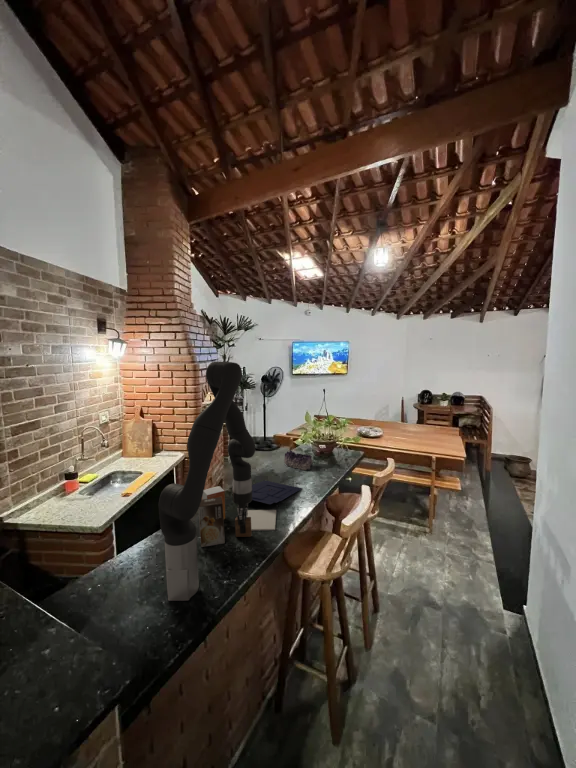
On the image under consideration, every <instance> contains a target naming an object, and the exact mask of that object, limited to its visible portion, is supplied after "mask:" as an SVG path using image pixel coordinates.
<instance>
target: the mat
mask: <svg viewBox="0 0 576 768" xmlns="http://www.w3.org/2000/svg"><path fill="white" fill-rule="evenodd" d="M247 517H251V530H252V531H276V519H277V509H248V516H247Z"/></svg>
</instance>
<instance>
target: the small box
mask: <svg viewBox="0 0 576 768" xmlns="http://www.w3.org/2000/svg"><path fill="white" fill-rule="evenodd" d="M225 493H226V491H225V490H224V489H223V488H222V487H221V485H219V486H218V485H217V486H215V487H209V488H206V489H205V488H204V491H203V495H202V499H210V498H217V497H221V498H222V503H223V518H224V520H226V500H225V499H226V495H225Z"/></svg>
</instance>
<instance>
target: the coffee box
mask: <svg viewBox="0 0 576 768" xmlns="http://www.w3.org/2000/svg"><path fill="white" fill-rule="evenodd" d="M198 521H199V538H200V540H199V541H200V547H201V548H203V547H204V548H206V547H210V546H216V545H221V544H225V541H226V540H225V539H226V537H225V523H224V521H225V519H224V518H223V503H222V498H221V497H217V498H210V499H203V498H202V500H201V503H200V506H199V508H198Z"/></svg>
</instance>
